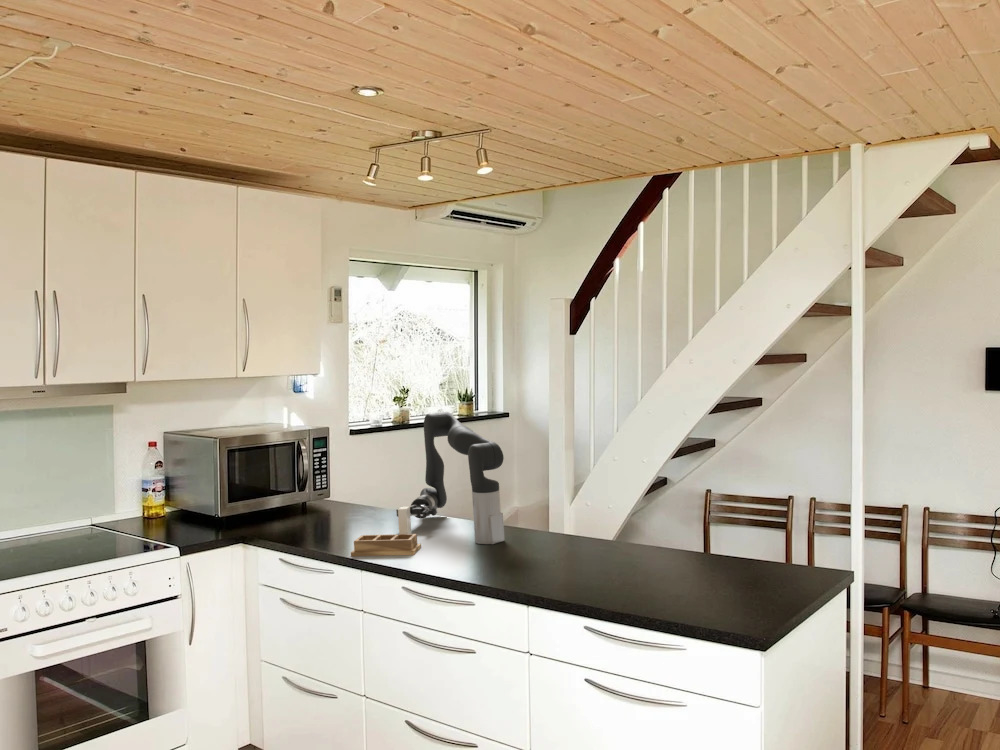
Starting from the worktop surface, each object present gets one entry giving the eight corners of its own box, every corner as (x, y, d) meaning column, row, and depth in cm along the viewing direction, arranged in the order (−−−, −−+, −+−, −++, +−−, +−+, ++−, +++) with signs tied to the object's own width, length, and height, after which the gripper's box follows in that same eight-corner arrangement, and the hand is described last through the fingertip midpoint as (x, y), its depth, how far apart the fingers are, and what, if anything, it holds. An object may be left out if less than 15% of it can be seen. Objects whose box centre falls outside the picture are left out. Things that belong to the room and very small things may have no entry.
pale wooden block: (403, 541, 297) (401, 506, 297) (411, 540, 297) (409, 506, 296) (399, 544, 293) (397, 509, 292) (408, 544, 293) (406, 509, 292)
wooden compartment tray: (360, 548, 290) (359, 534, 290) (421, 547, 287) (420, 533, 287) (350, 556, 280) (350, 541, 280) (413, 554, 277) (412, 540, 277)
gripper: (403, 496, 322) (392, 505, 306) (441, 495, 320) (431, 504, 304) (405, 516, 322) (393, 526, 306) (442, 515, 320) (432, 525, 304)
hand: (412, 515), depth 305 cm, fingers open, 8 cm apart
